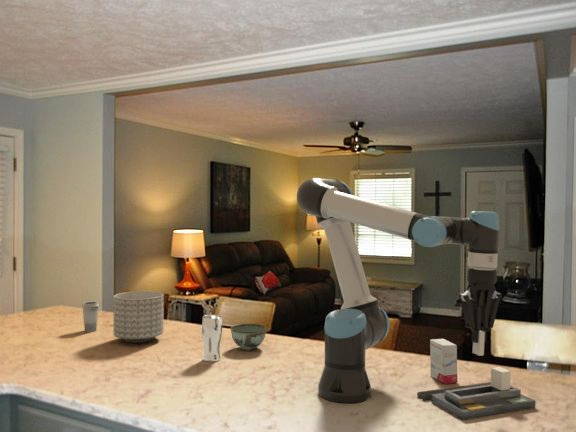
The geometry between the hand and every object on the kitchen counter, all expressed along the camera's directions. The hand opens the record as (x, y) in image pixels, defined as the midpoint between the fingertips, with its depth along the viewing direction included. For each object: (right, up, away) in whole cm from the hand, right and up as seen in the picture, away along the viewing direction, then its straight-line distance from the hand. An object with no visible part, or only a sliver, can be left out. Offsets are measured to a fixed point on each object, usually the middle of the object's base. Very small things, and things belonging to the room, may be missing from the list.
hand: (478, 354), depth 141 cm
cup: (-136, -11, +79) cm, 158 cm away
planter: (-111, -12, +64) cm, 129 cm away
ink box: (-3, -14, +21) cm, 25 cm away
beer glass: (-79, -13, +40) cm, 89 cm away
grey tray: (+1, -14, 0) cm, 14 cm away
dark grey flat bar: (-2, -14, +9) cm, 17 cm away
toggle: (+7, -12, +2) cm, 14 cm away
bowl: (-67, -13, +54) cm, 87 cm away
